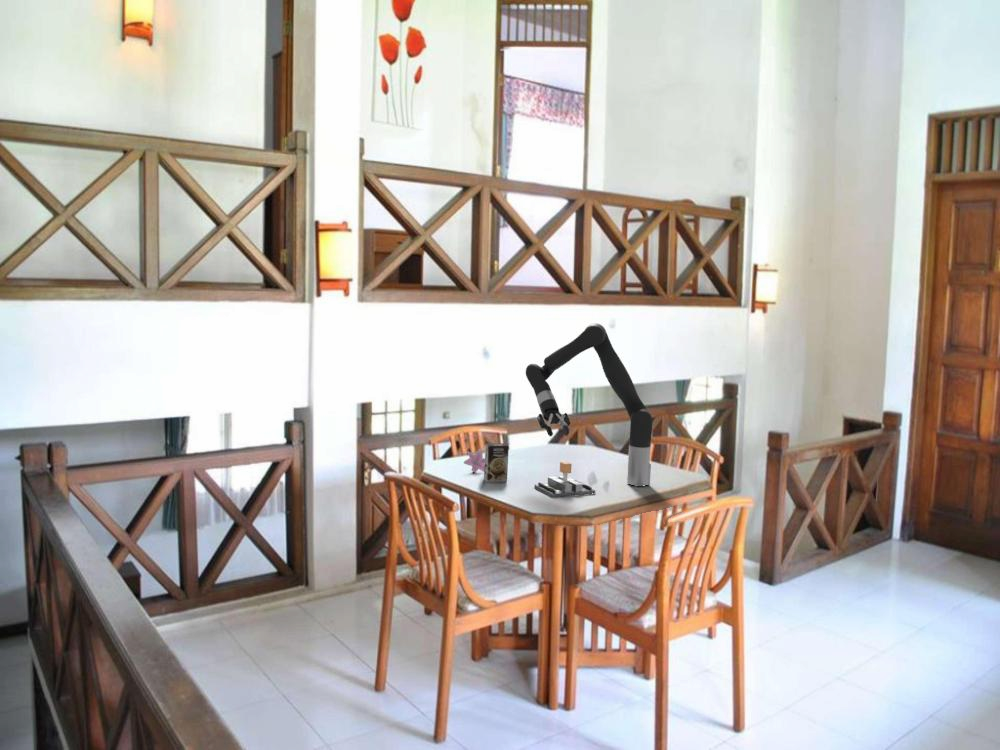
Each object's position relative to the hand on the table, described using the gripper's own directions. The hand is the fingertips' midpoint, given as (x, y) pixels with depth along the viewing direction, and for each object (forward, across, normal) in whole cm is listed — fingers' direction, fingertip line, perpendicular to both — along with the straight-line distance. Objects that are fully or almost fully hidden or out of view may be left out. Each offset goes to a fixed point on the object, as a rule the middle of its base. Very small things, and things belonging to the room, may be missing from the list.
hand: (559, 434), depth 348 cm
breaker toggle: (+19, 0, +10) cm, 22 cm away
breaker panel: (+21, 0, +11) cm, 23 cm away
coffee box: (+3, -20, +29) cm, 36 cm away
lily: (-9, -21, +42) cm, 48 cm away
